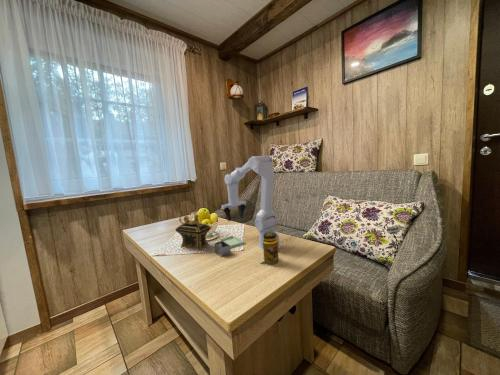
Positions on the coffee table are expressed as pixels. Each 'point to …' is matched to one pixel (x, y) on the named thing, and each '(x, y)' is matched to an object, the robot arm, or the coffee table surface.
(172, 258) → the coffee table surface
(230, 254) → the tan rectangular block
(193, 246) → the decorative box
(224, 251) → the grey open box
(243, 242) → the tray
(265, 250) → the condiment
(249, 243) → the coffee table surface
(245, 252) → the coffee table surface
